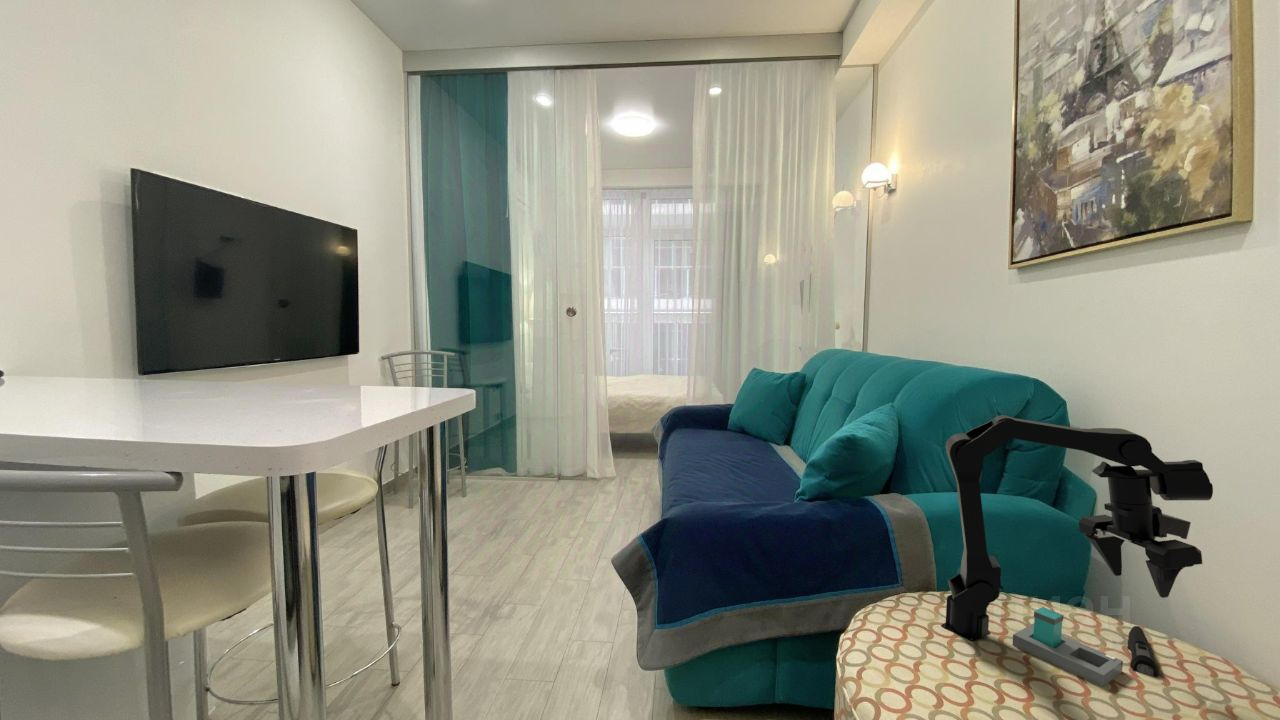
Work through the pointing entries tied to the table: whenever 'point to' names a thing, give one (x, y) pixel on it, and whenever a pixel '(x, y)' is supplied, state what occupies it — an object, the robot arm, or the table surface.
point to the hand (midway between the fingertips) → (1139, 585)
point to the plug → (1048, 627)
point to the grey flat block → (1072, 657)
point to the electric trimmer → (1141, 653)
